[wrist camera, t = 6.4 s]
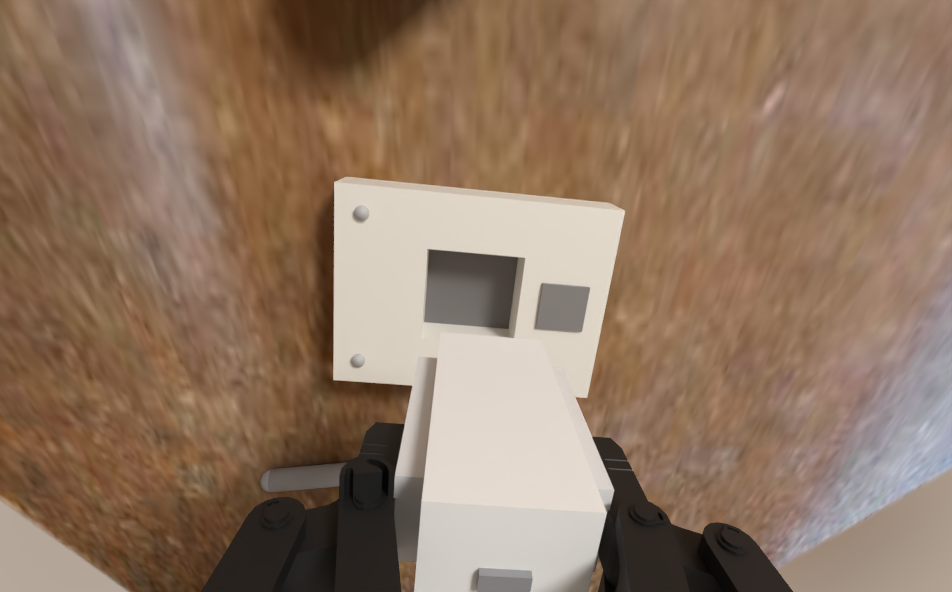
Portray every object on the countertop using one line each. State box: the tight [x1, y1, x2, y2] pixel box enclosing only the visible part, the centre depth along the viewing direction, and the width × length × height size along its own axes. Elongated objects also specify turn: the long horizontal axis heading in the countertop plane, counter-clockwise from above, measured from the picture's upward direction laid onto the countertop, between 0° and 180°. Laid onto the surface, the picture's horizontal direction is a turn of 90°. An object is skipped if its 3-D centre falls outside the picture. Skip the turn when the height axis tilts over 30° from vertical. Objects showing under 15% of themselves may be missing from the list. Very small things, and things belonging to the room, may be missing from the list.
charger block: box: [414, 332, 607, 592], centre depth 15 cm, size 4×4×9 cm
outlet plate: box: [333, 177, 625, 398], centre depth 29 cm, size 16×12×3 cm
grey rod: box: [260, 462, 347, 492], centre depth 35 cm, size 14×2×2 cm, turn 94°
